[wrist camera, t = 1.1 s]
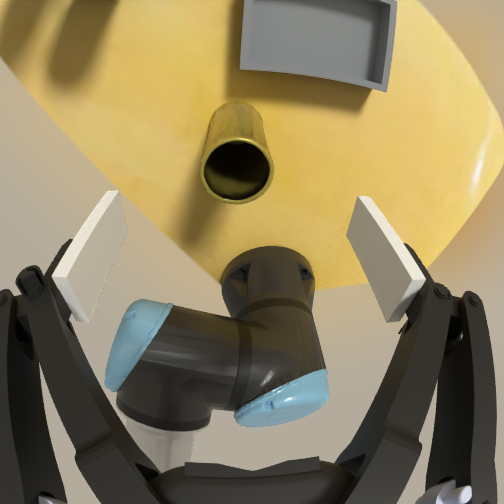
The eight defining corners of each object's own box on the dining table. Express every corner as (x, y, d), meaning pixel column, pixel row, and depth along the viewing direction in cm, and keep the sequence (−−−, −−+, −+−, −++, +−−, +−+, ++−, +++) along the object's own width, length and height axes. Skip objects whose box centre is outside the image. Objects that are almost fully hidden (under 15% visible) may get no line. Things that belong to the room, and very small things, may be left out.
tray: (373, 88, 27) (386, 92, 24) (239, 68, 25) (239, 69, 23) (382, 4, 19) (397, 1, 16) (246, -24, 18) (247, -33, 15)
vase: (205, 145, 31) (188, 203, 20) (215, 96, 27) (200, 124, 16) (255, 154, 32) (267, 216, 21) (268, 107, 29) (291, 141, 18)
